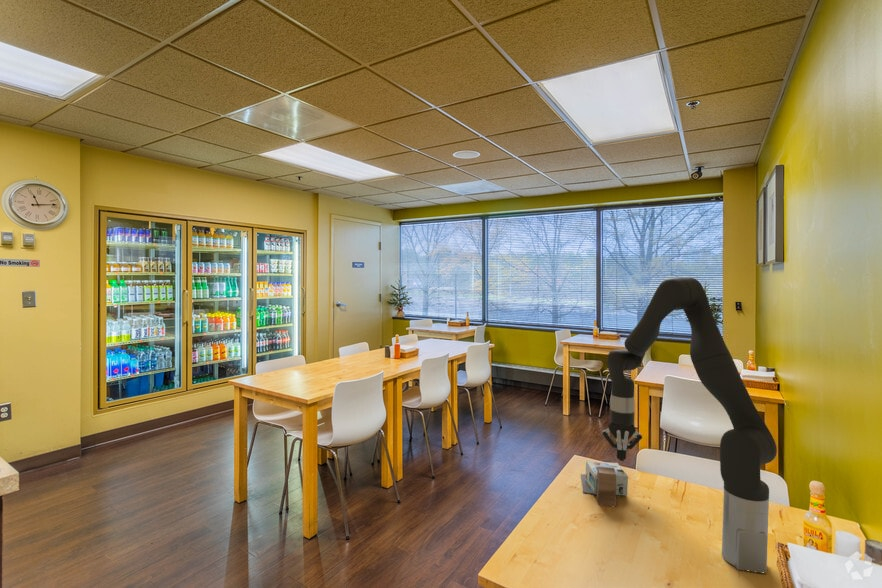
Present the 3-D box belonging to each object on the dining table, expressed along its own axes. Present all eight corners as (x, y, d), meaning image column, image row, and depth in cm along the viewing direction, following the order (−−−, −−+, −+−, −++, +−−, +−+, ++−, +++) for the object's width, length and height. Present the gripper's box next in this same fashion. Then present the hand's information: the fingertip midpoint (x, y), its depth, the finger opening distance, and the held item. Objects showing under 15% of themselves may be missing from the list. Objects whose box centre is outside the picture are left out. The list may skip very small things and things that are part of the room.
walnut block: (615, 506, 135) (616, 474, 135) (598, 504, 136) (598, 472, 136) (613, 499, 140) (613, 468, 139) (596, 497, 141) (597, 466, 141)
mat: (619, 497, 141) (619, 496, 141) (583, 493, 143) (583, 491, 143) (613, 478, 154) (613, 477, 154) (580, 475, 157) (580, 474, 157)
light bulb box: (628, 475, 141) (594, 474, 141) (628, 496, 141) (593, 494, 141) (617, 462, 151) (585, 460, 152) (616, 481, 152) (584, 479, 152)
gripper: (602, 410, 145) (601, 462, 145) (646, 413, 141) (644, 467, 142) (600, 404, 152) (599, 453, 152) (641, 407, 148) (640, 458, 149)
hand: (621, 460), depth 147 cm, fingers closed
